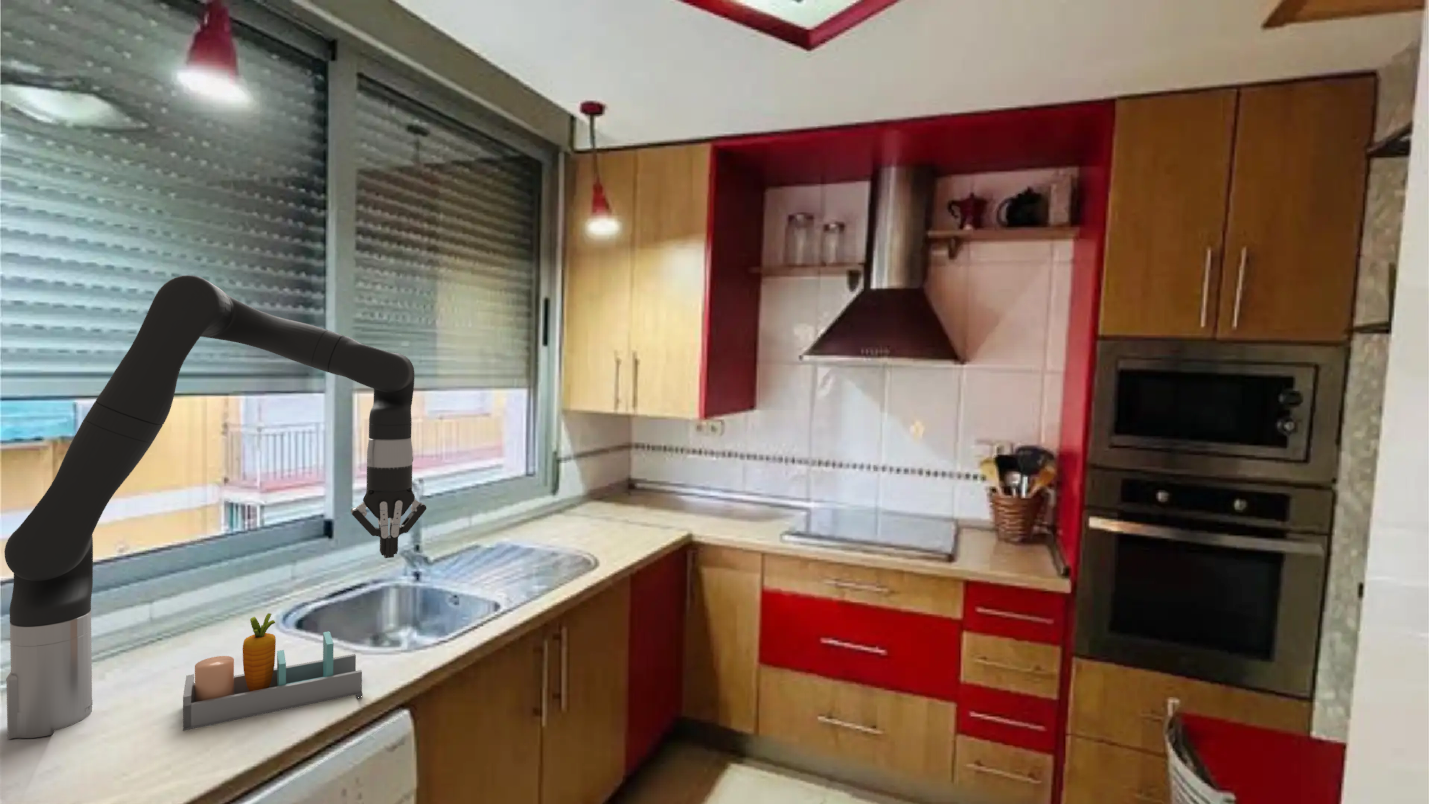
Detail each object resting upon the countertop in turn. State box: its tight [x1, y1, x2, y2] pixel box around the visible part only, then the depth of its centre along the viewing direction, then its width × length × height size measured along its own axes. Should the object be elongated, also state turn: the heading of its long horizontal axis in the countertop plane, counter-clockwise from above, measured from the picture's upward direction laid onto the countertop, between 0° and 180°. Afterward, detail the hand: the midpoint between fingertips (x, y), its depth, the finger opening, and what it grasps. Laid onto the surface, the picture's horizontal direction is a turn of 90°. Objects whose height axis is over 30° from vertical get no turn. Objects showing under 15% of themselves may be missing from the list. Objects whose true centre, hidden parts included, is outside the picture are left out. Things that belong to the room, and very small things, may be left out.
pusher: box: [276, 631, 334, 686], centre depth 121 cm, size 8×6×9 cm
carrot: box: [242, 613, 277, 691], centre depth 117 cm, size 5×5×15 cm
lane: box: [182, 653, 363, 732], centre depth 119 cm, size 25×10×6 cm, turn 124°
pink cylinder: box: [194, 655, 235, 702], centre depth 114 cm, size 5×5×8 cm
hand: (388, 556), depth 128 cm, fingers closed
